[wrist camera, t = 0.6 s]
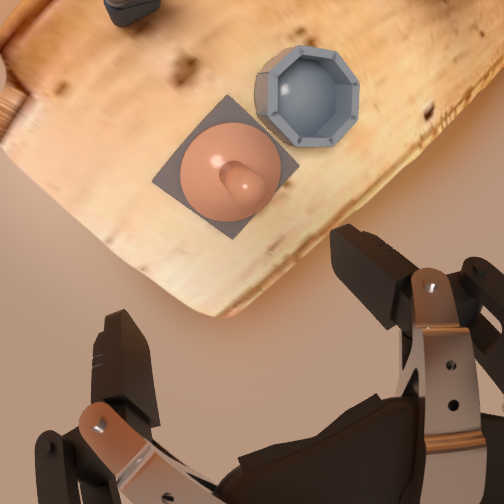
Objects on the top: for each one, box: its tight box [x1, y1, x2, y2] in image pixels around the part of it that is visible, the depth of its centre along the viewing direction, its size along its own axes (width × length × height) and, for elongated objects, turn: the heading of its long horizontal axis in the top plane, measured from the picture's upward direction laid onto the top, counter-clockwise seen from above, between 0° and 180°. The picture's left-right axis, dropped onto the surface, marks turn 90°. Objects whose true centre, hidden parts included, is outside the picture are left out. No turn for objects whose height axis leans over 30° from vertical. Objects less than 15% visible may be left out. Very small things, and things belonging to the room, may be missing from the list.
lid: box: [180, 122, 281, 222], centre depth 28 cm, size 11×11×7 cm
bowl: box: [254, 45, 360, 147], centre depth 27 cm, size 11×11×4 cm
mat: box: [152, 95, 299, 240], centre depth 31 cm, size 12×12×1 cm
